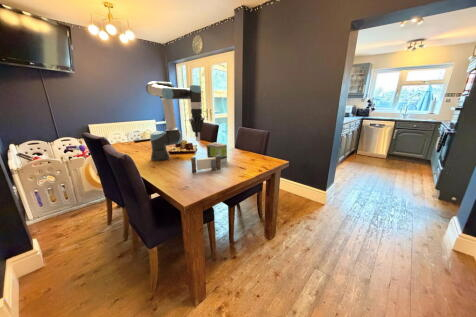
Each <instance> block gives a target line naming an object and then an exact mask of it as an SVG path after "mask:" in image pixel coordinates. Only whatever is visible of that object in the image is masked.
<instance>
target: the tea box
mask: <svg viewBox="0 0 476 317" xmlns="http://www.w3.org/2000/svg"><path fill="white" fill-rule="evenodd" d="M206 153H207V154H206V155H207V158H213V157H215V156H217V155H219V156H220V164H223V163H227V162H228V145H227V144H226V143H221V142H217V141H216V142H210V143H207V144H206ZM215 158H216V157H215Z"/></svg>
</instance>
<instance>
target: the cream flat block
mask: <svg viewBox="0 0 476 317" xmlns="http://www.w3.org/2000/svg"><path fill="white" fill-rule="evenodd" d="M214 159H215V160H216V158H215V157H213V158H208V157H206V158H198V159H197V158H196V171H200V170H201V171H202V170H208V169H211V160H214Z"/></svg>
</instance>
